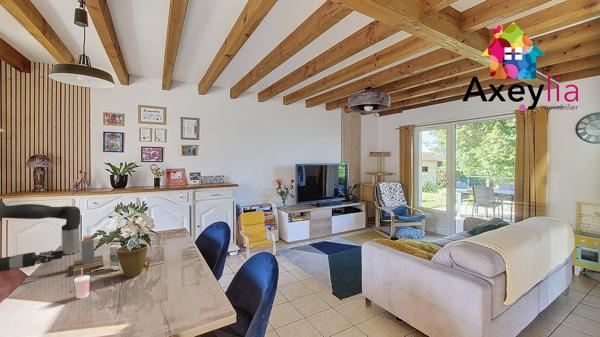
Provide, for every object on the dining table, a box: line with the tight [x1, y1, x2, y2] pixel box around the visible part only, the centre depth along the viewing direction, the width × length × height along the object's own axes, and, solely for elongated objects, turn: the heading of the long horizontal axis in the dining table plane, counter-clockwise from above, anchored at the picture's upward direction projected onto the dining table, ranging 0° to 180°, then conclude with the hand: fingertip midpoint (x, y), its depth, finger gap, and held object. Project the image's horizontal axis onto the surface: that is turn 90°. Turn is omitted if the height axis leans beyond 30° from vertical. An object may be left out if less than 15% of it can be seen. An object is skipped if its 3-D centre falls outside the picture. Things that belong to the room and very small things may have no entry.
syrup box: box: [109, 243, 122, 267], centre depth 158 cm, size 6×6×14 cm
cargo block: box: [82, 235, 93, 243], centre depth 160 cm, size 4×4×4 cm
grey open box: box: [81, 238, 95, 265], centre depth 160 cm, size 6×6×13 cm
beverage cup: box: [73, 268, 91, 299], centre depth 126 cm, size 6×6×14 cm
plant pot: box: [117, 243, 148, 279], centre depth 149 cm, size 15×15×16 cm
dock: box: [72, 254, 105, 276], centre depth 161 cm, size 20×14×3 cm
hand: (62, 254), depth 153 cm, fingers open, 8 cm apart
